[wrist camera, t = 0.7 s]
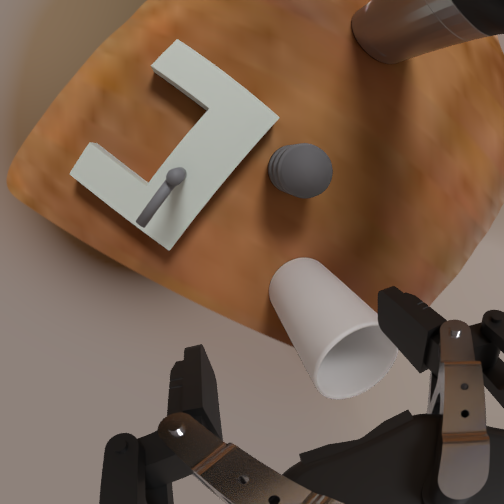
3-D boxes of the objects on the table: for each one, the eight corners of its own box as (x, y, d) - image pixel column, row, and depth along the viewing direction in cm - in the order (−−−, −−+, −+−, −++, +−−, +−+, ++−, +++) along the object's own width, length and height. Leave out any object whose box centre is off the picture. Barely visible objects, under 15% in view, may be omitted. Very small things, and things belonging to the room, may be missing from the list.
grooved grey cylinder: (287, 135, 31) (306, 131, 25) (320, 167, 33) (344, 169, 27) (256, 171, 31) (269, 173, 26) (291, 201, 33) (310, 210, 28)
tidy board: (178, 47, 25) (173, 14, 18) (273, 120, 30) (298, 108, 22) (77, 172, 28) (43, 178, 20) (171, 244, 32) (163, 271, 24)
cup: (255, 290, 36) (294, 376, 21) (304, 244, 35) (376, 303, 20) (295, 326, 39) (344, 410, 24) (340, 285, 38) (410, 352, 23)
